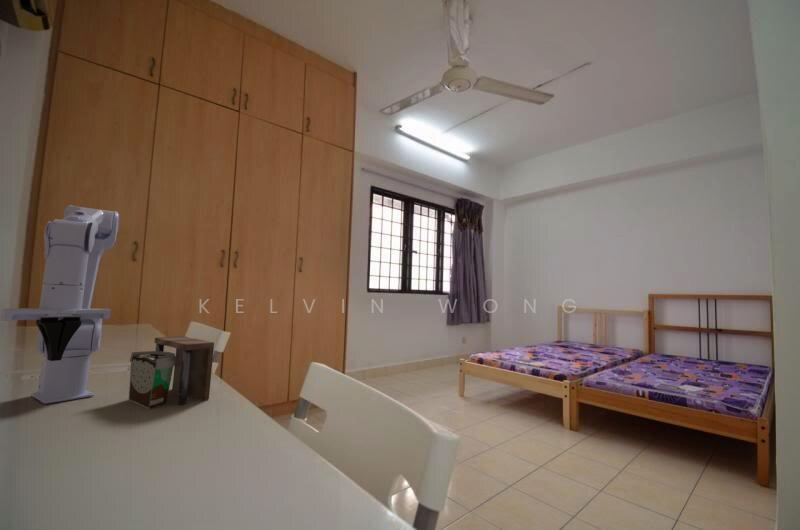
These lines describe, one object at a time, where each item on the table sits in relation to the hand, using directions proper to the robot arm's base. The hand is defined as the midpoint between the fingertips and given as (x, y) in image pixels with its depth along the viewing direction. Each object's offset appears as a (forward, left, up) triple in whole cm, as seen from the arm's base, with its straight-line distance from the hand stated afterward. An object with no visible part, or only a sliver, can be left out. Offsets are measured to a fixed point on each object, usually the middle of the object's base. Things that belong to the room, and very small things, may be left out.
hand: (54, 360), depth 65 cm
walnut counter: (+2, +21, -10) cm, 24 cm away
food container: (+2, +17, -11) cm, 20 cm away
